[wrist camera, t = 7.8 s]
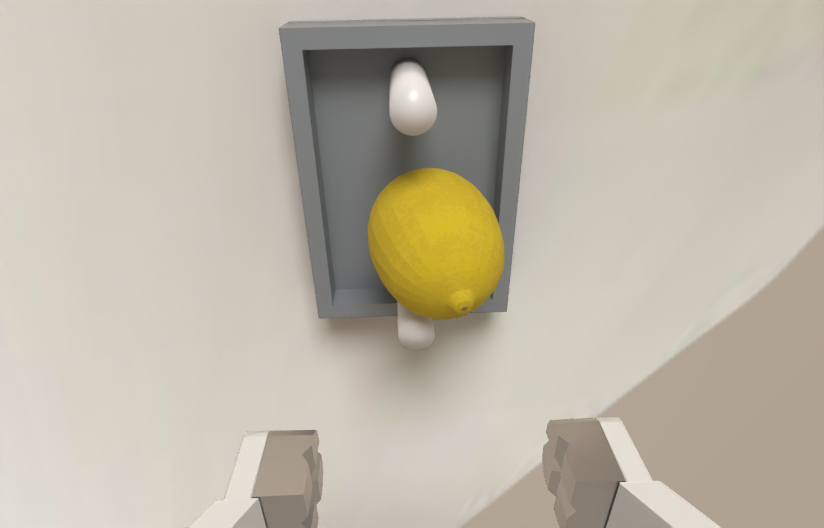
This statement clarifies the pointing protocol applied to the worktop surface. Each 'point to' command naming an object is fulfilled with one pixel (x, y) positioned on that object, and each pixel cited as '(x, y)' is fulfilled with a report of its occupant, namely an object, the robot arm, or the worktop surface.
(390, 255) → the lemon
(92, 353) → the worktop surface
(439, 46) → the tray
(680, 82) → the worktop surface
